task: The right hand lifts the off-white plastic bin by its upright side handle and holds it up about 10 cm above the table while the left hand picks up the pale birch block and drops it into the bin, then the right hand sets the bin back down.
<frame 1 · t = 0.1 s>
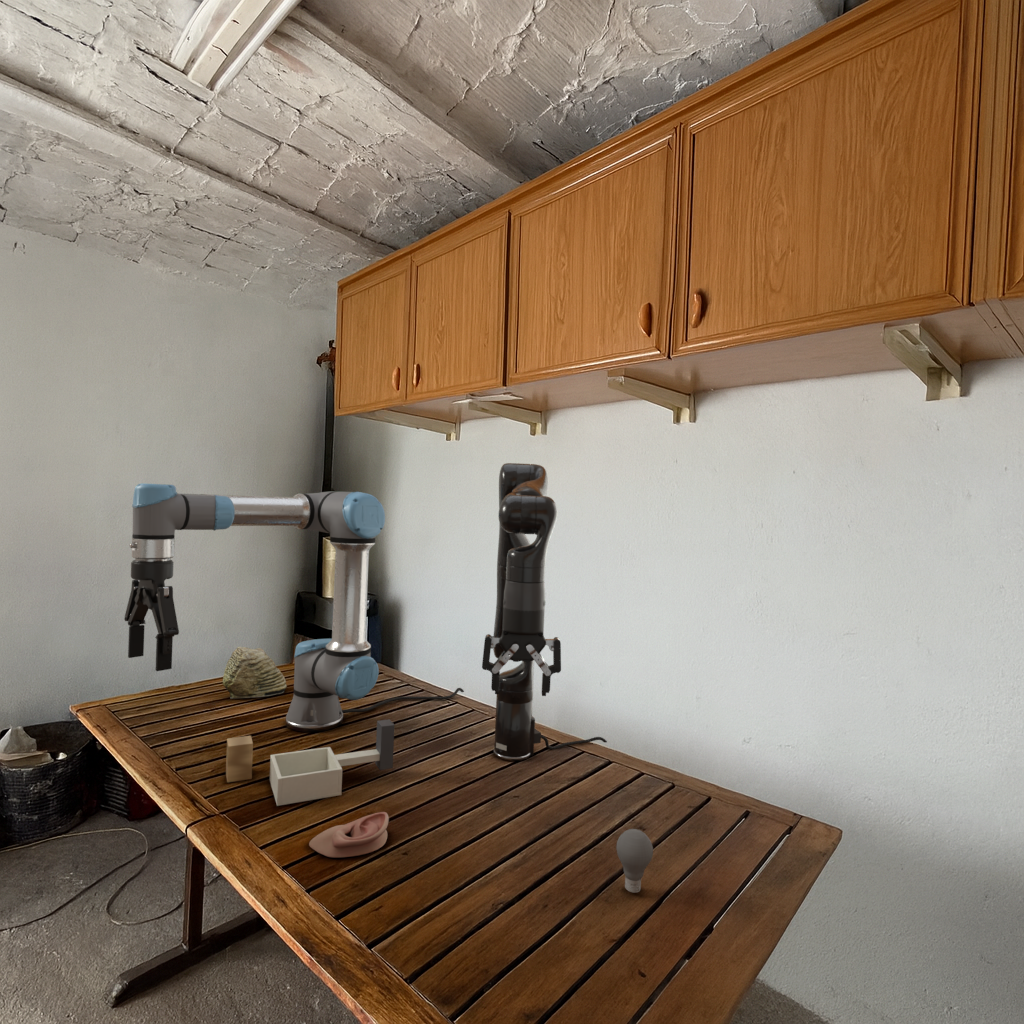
left hand: (149, 663, 129), 28 cm above the table, fingers open, 13 cm apart
right hand: (520, 693, 115), 29 cm above the table, fingers open, 8 cm apart
birch block: (238, 776, 142), on the table
light bulb: (632, 891, 106), on the table
fossil: (254, 694, 198), on the table
anatomical model: (349, 842, 117), on the table
handled bin: (304, 787, 138), on the table
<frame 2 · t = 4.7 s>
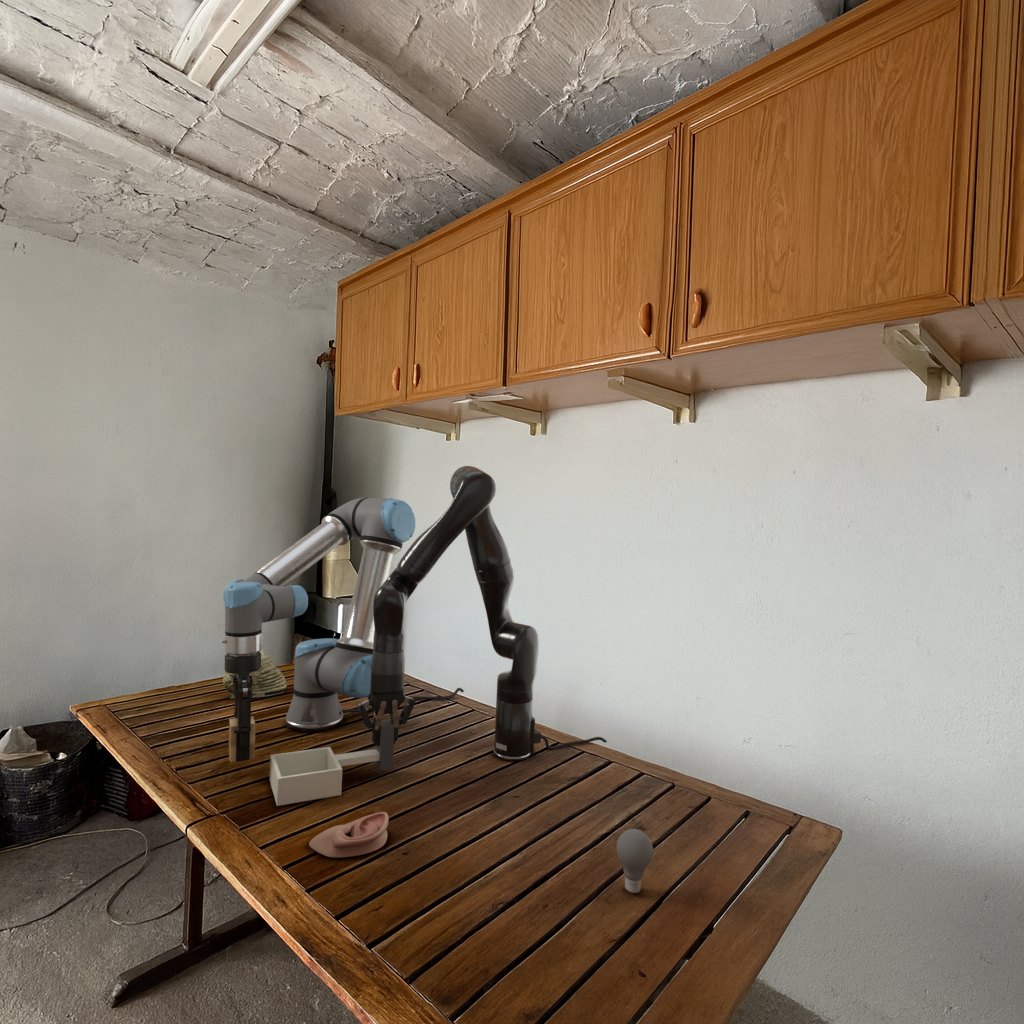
left hand: (241, 754, 142), 5 cm above the table, fingers closed on birch block, 5 cm apart
right hand: (384, 743, 146), 7 cm above the table, fingers closed on handled bin, 3 cm apart
birch block: (241, 756, 142), point 4 cm above the table, touching left hand
handled bin: (304, 787, 138), on the table, touching right hand
everything else where it was.
when the left hand's fingers open (20 cm above the table, at t = 9.7 s): birch block drops 9 cm, resting on handled bin.
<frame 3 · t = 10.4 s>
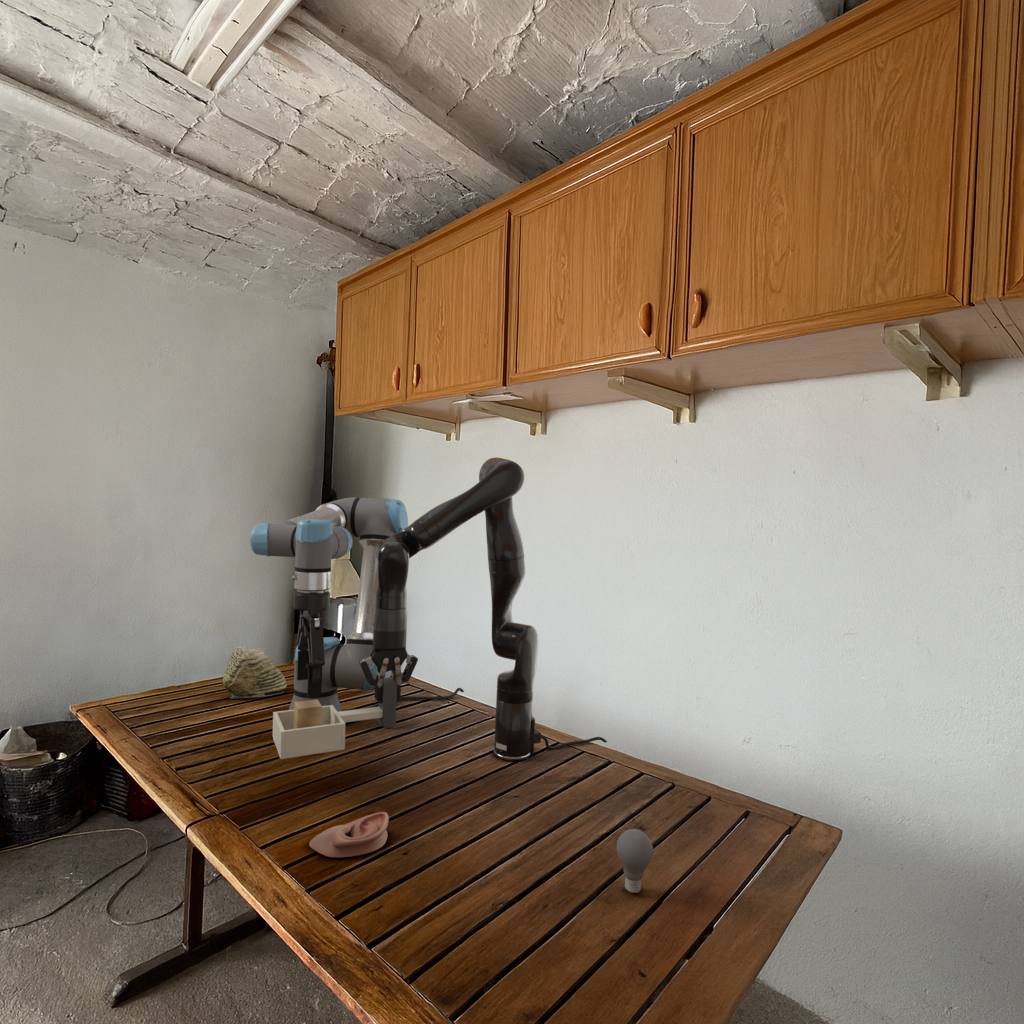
left hand: (308, 688, 137), 22 cm above the table, fingers open, 13 cm apart
right hand: (387, 700, 146), 17 cm above the table, fingers closed on handled bin, 3 cm apart
birch block: (306, 740, 138), point 10 cm above the table, touching handled bin
handled bin: (307, 743, 138), point 10 cm above the table, touching birch block, right hand
everything else where it was.
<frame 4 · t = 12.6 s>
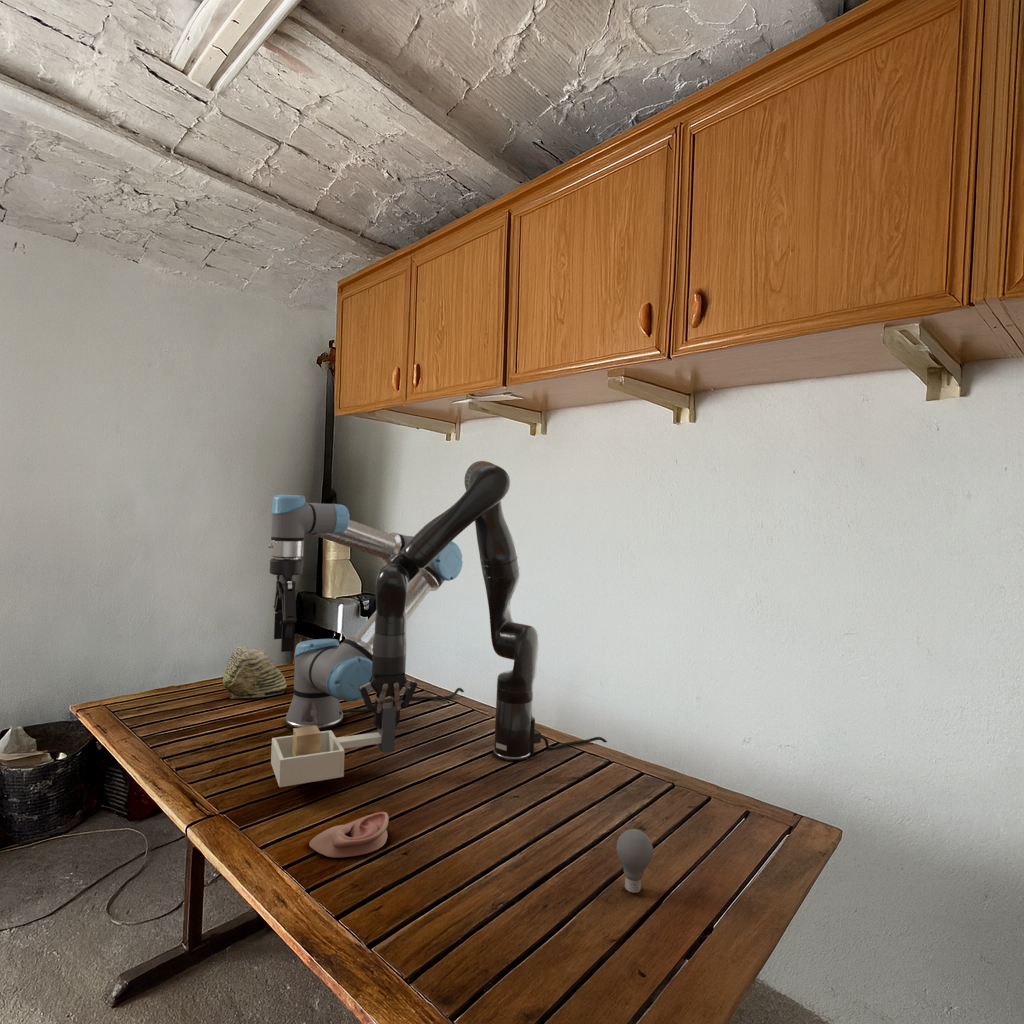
left hand: (283, 644, 154), 27 cm above the table, fingers open, 13 cm apart
right hand: (386, 726, 145), 11 cm above the table, fingers closed on handled bin, 3 cm apart
birch block: (305, 767, 137), point 5 cm above the table, touching handled bin
handled bin: (306, 769, 137), point 4 cm above the table, touching birch block, right hand
everything else where it was.
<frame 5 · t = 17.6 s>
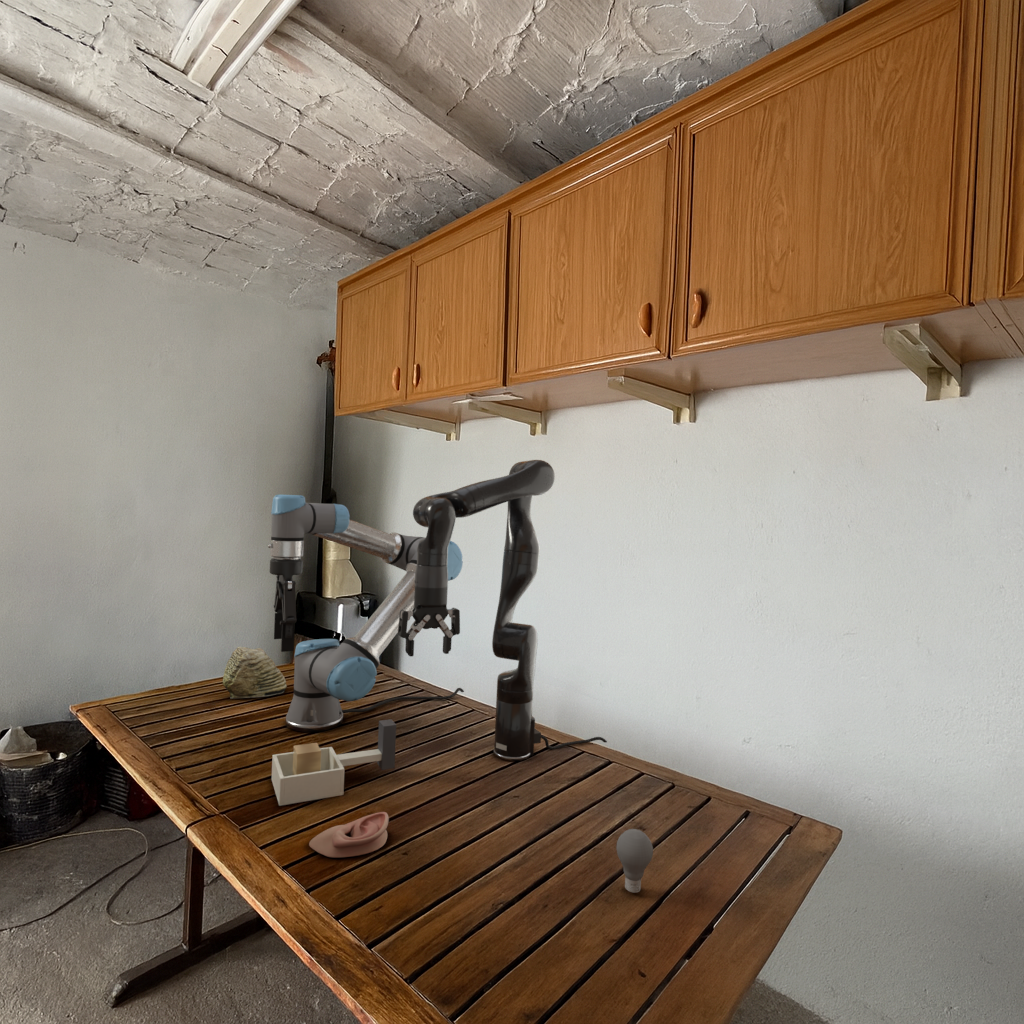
left hand: (283, 644, 154), 27 cm above the table, fingers open, 13 cm apart
right hand: (428, 654, 146), 28 cm above the table, fingers open, 8 cm apart
birch block: (305, 784, 138), point 1 cm above the table, touching handled bin
handled bin: (306, 787, 138), on the table, touching birch block
everything else where it was.
at the end: birch block inside the target area on the handled bin (0.2 cm from its centre), point 0.6 cm above the handled bin's base; handled bin on the table; the left hand is holding nothing; the right hand is holding nothing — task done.
